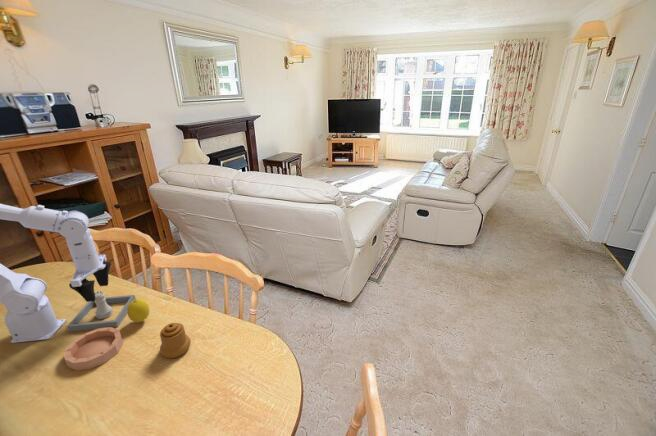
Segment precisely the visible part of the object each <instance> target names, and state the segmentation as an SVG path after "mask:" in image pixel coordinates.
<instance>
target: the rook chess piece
mask: <svg viewBox="0 0 656 436" xmlns="http://www.w3.org/2000/svg"><path fill="white" fill-rule="evenodd" d="M94 293H95V303H96V305H95V306H96V309H95V312H94V313H95V314H94V315H95V318H97V319H99V320H100V319H101V320H102V319H103V320H104V319H107V318H108V317H110V316H111V315H112V314H113V313H114V310H113V308H112V306H110V304H107V303H106V301H105V299H106V298H104V297H106V293H104V291H103V290H100V291H99V290H98V291H97V292H94Z"/></svg>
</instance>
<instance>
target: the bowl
mask: <svg viewBox="0 0 656 436" xmlns="http://www.w3.org/2000/svg"><path fill="white" fill-rule="evenodd" d="M123 345H124V342H123V338H122V335H121V331H120V330H119V329H117V328H116V327H108V328H98V329H93V330H89V331H88V332H85V333H83V334H81V335H80V336H79V337H77V338H75V339H74V340H73V341H71V342H70V343H69V345H68V346H67V347H66V348H65V350H64V352H63V353H64V354H63V355H64V357H63V358H64V362H65V363H66V366H67V367H68V368H69V369H72V370H74V371H83V370H84V371H85V370H91V369H94V368H95V367H96V368H97V367H98V366H101V365H103V364H106V363H107V362H108V361H110V360H111V359H112V358H113V357H114V356H117V355H118V353H119V352H120V350H121V348H123Z"/></svg>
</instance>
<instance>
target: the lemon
mask: <svg viewBox="0 0 656 436" xmlns="http://www.w3.org/2000/svg"><path fill="white" fill-rule="evenodd" d="M126 315H127V316H128V318H129V319H130V320H131V321H132V322H135V323H142V322H143V321H145V320H146V319H147V318H148V317H149V315H150V307H149V304H148V303H147V301H146V300H145V299H140V298H138V299H137V298H136V300H134V301H132V302H131V303H130V304H129V305H128V308H127V314H126Z"/></svg>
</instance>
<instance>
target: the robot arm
mask: <svg viewBox="0 0 656 436" xmlns="http://www.w3.org/2000/svg"><path fill="white" fill-rule="evenodd" d="M89 219H90V218H89V217H88V215H87V214H86V213H84V212H81V211H78V210H71V211H68V210H62V211H61V210H57V209H51V208H45V205H42V204H38V205H37V206H35V205H31V206H28V207H26V208H21V207H17V206H12V205H8V204H3V203H0V220H5V221H11V222H18V223H19V224H20V225H21V226H23V227H24V228H27V229H33V230H40V231H45V232H46V231H47V232H52V233H59V234H60V235H61V236H62V237H64V238H65V241H66V245H67V247H68V250H69V253H70V256H71V259H72V261H73V264H74V267H75V271H74V274H73V276H72V278H71V279H70V281H69V288H70V289H71V290H73V291H75V292H77V293H78V294H79V295H80V296H81V297H82V298H83V299H84V301H85V302H86V303H88V302H90V301H95V293H96V292H95V288H94V287H95V281H96V282H97V284H98V286H99V287H107V286H108V285H109V271H110V268H111V265H112V263H111V262H110V261H107V255H106V254H98V251H97V248H96V245H95V241H94V238H93V236H92V233H91V231H90V228H89V224H90V220H89ZM92 274H93V277H94V278H95V279H94V280H93V279H92V280H89V279H87V278H88V277H90V276H91V275H92ZM47 289H48V284H47V283H46V281H44V280H43V279H41V278H38V277H33V276H30V275H29V274H27V273H18V272H15V271H13V270H11V269H9V268H8V267H6V266H5V265H4V264H2V263H0V303H1V304H2V305H3V306H5V309H6V310H7V312H6V313H5V316H4V324H5V327H6V328H7V330H8V332H9V334H10V336H11V337H12V340H10V343H12V344H15V343H23V342H33V341H43V340H50V339H51V338H52V337H53V336H54V335H55V333H56V332H57V331H58V330H59V329H60V328H61V327H62V326H63V324H64V323H66V321H67V319H66V318H61V319H57V316H56V314H55V311H54V309H53V307H52V304H51V301H50V299H49V298H48V296H47V295H46V294H45V292H46V291H47Z"/></svg>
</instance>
